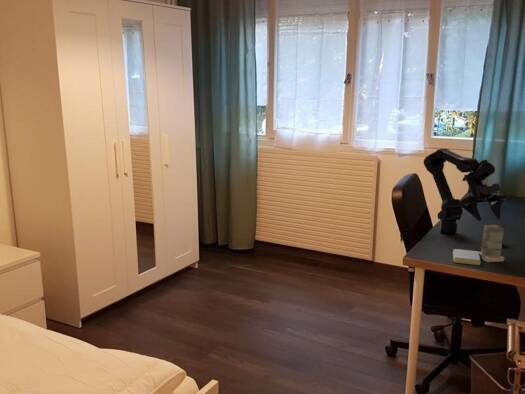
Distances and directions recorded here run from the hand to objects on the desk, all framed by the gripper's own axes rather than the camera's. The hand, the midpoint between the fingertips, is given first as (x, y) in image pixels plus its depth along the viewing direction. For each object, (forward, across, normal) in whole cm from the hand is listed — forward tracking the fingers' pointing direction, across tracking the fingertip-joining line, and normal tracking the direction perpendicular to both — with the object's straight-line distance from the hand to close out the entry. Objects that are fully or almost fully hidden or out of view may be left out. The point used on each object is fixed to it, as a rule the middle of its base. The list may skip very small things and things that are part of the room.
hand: (489, 220), depth 197 cm
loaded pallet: (+15, -4, +2) cm, 16 cm away
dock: (+14, -14, +4) cm, 20 cm away
